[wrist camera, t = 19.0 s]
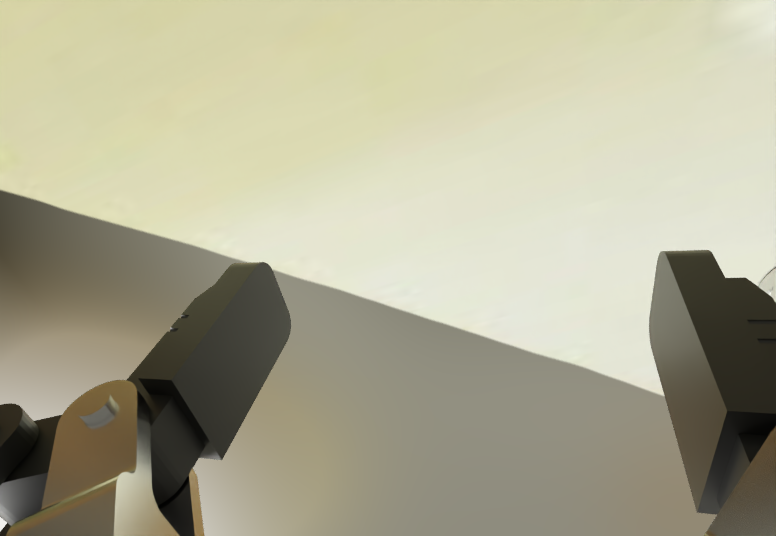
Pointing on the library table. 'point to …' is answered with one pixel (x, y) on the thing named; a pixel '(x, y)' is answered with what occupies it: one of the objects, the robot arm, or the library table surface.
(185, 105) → the library table surface
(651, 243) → the library table surface
